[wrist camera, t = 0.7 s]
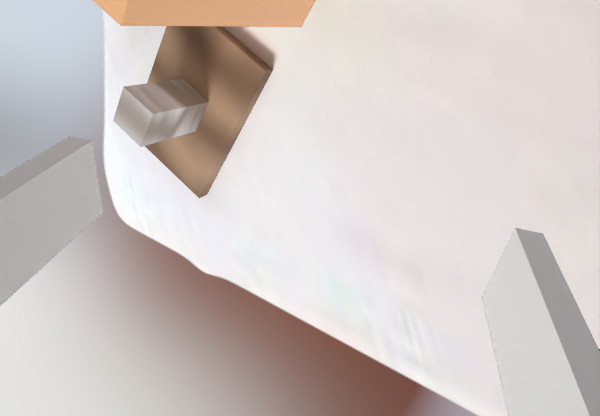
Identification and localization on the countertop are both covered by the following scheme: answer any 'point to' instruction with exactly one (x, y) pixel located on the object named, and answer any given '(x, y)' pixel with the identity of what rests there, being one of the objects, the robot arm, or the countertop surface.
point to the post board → (218, 87)
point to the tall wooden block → (208, 12)
